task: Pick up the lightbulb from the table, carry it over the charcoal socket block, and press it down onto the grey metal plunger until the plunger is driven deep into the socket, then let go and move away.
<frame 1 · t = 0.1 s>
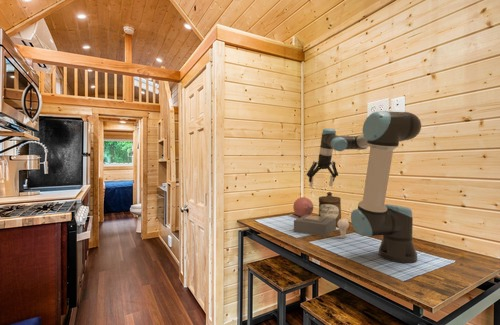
hand: (320, 186, 161), 28 cm above the table, tool tilted 20°, fingers open, 13 cm apart
socket block: (315, 230, 161), on the table
balloon: (304, 217, 198), on the table
wooden container: (329, 223, 179), on the table
lightbulb: (343, 238, 144), on the table
plunger: (315, 220, 161), point 6 cm above the table, slide at 0.0 cm
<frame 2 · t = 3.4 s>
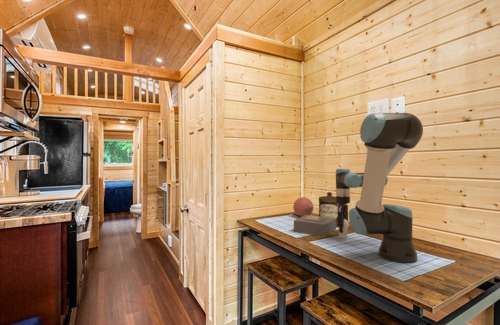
hand: (343, 236, 144), 1 cm above the table, tool pointing down, fingers closed on lightbulb, 6 cm apart
lightbulb: (343, 238, 144), on the table, touching gripper
everything else where it was.
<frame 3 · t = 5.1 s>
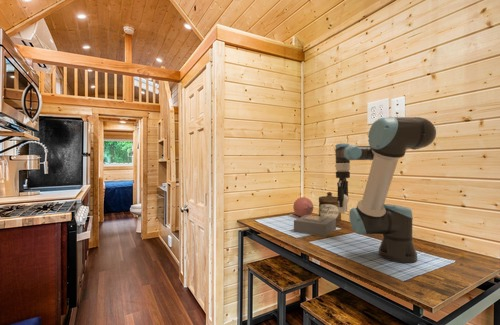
hand: (343, 211, 144), 15 cm above the table, tool pointing down, fingers closed on lightbulb, 6 cm apart
lightbulb: (343, 213, 144), point 14 cm above the table, touching gripper
everything else where it was.
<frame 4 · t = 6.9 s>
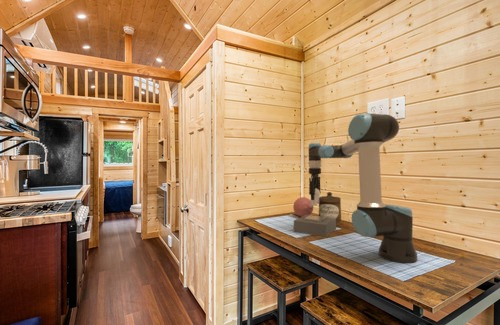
hand: (315, 204, 161), 16 cm above the table, tool pointing down, fingers closed on lightbulb, 6 cm apart
lightbulb: (315, 205, 161), point 15 cm above the table, touching gripper
everything else where it was.
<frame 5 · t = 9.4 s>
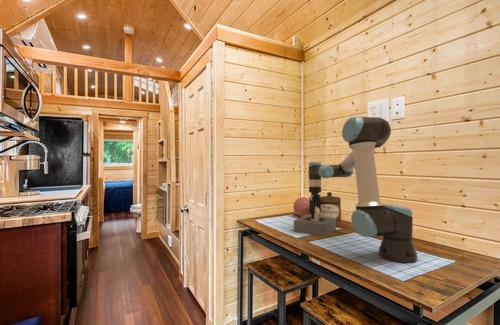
hand: (315, 222, 161), 5 cm above the table, tool pointing down, fingers closed on lightbulb, 6 cm apart
lightbulb: (315, 224, 161), point 4 cm above the table, touching gripper, plunger
plunger: (315, 226, 161), point 2 cm above the table, slide at 4.0 cm, touching lightbulb
everything else where it was.
when the fingers open (5 cm above the table, at t = 10.6 s): lightbulb stays where it is, resting on plunger.
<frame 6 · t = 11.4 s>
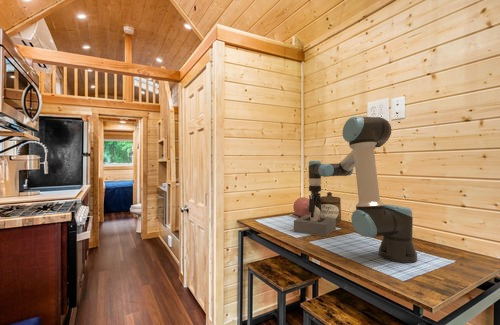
hand: (315, 221, 161), 6 cm above the table, tool pointing down, fingers open, 8 cm apart
lightbulb: (315, 224, 161), point 4 cm above the table, touching plunger
everything else where it was.
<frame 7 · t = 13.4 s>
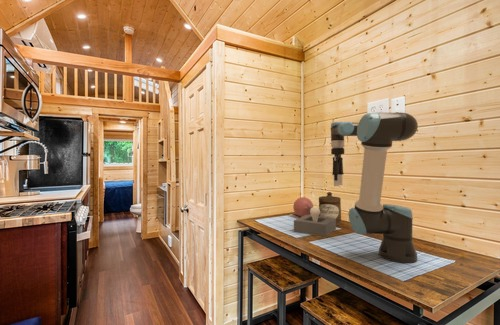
hand: (338, 185, 154), 29 cm above the table, tool pointing down, fingers open, 8 cm apart
nothing on the table moved.
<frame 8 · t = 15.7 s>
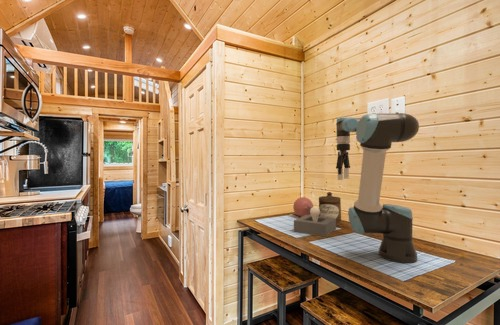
hand: (343, 179, 153), 33 cm above the table, tool pointing down, fingers open, 13 cm apart
nothing on the table moved.
at the end: plunger slide at 4.0 cm; lightbulb inside the target area on the socket block (0.0 cm from its centre), point 3.8 cm above the socket block's base; lightbulb tilted 0° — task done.
